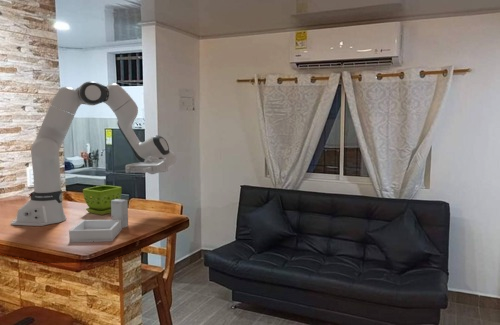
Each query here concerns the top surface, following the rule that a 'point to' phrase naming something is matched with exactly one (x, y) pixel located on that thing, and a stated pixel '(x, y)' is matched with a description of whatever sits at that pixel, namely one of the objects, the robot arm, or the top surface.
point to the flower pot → (101, 198)
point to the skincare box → (120, 211)
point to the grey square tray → (95, 230)
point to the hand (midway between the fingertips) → (134, 171)
